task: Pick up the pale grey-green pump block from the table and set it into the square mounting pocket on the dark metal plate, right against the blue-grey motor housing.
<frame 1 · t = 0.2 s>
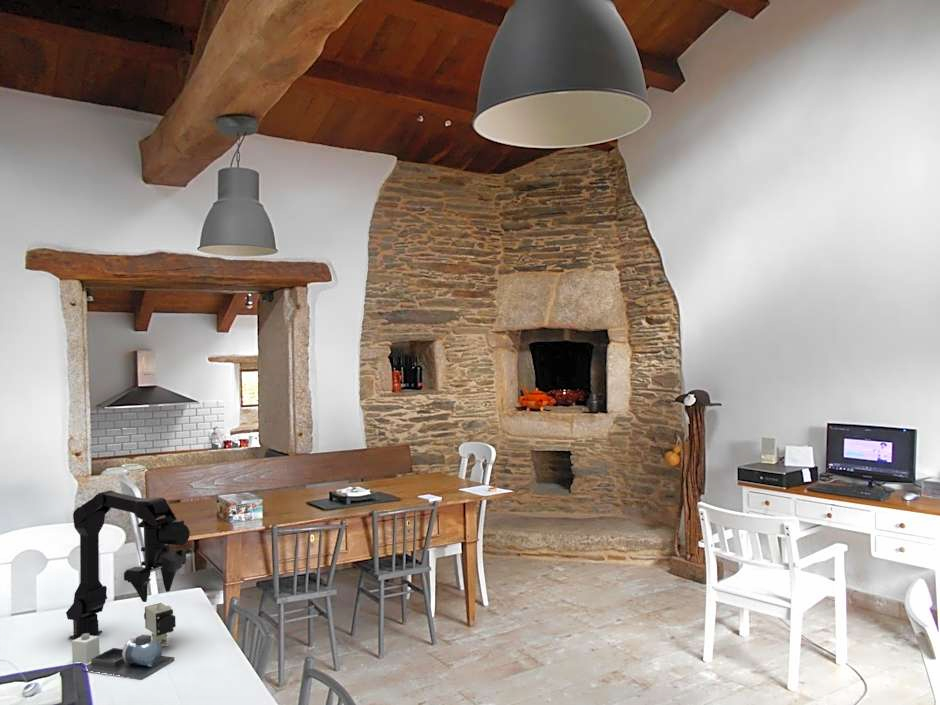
hand: (156, 596, 212), 14 cm above the table, tool pointing down, fingers open, 9 cm apart
pneumatic valve: (161, 646, 213), on the table
motor mount: (114, 663, 201), on the table
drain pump: (86, 660, 204), on the table
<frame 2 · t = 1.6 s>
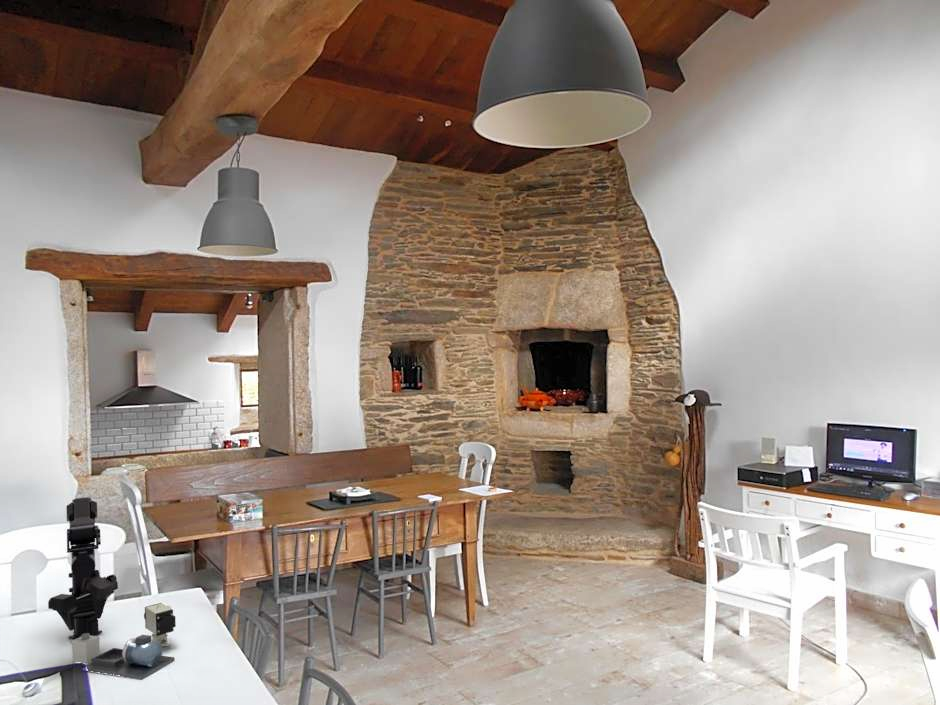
hand: (85, 624, 204), 10 cm above the table, tool pointing down, fingers open, 9 cm apart
nothing on the table moved.
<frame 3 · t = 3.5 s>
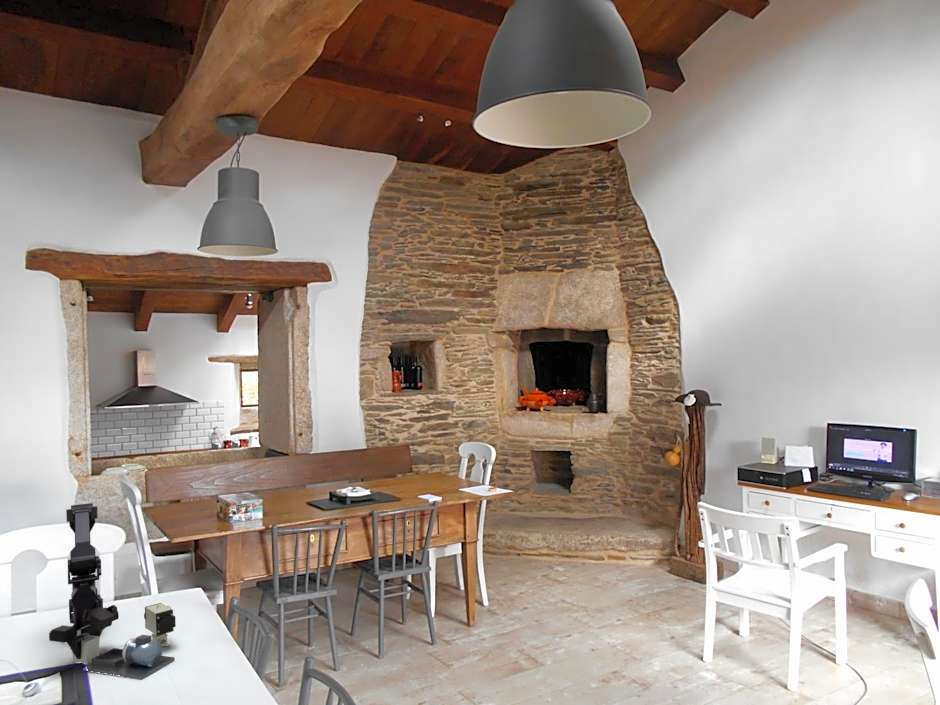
hand: (86, 655, 204), 1 cm above the table, tool pointing down, fingers closed on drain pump, 4 cm apart
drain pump: (86, 660, 204), on the table, touching gripper
everything else where it was.
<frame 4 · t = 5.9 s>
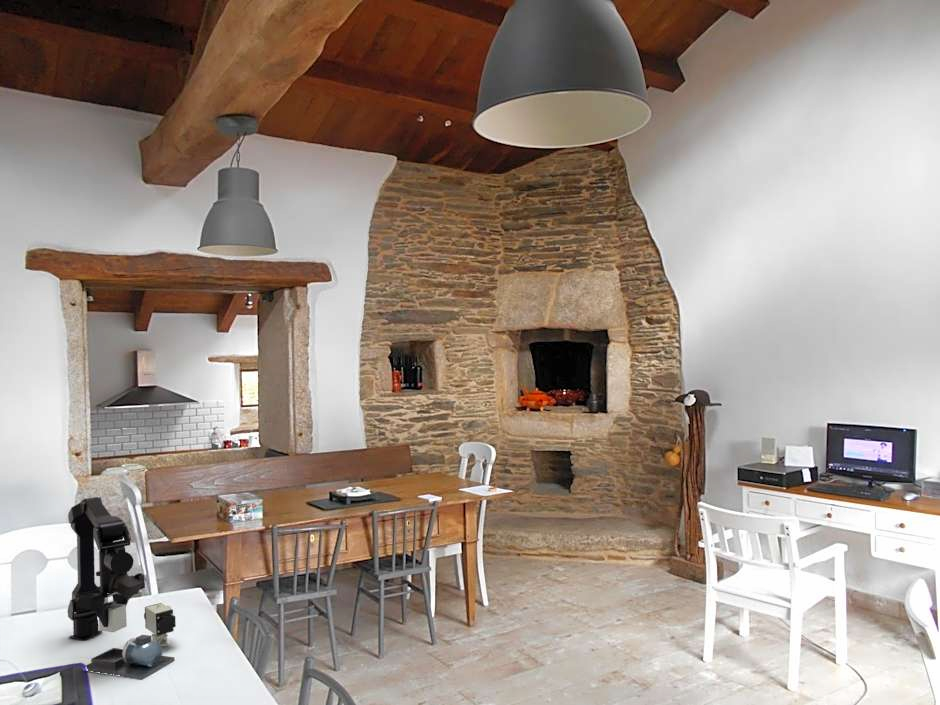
hand: (112, 623, 201), 11 cm above the table, tool pointing down, fingers closed on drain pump, 4 cm apart
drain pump: (113, 628, 201), point 10 cm above the table, touching gripper
everything else where it was.
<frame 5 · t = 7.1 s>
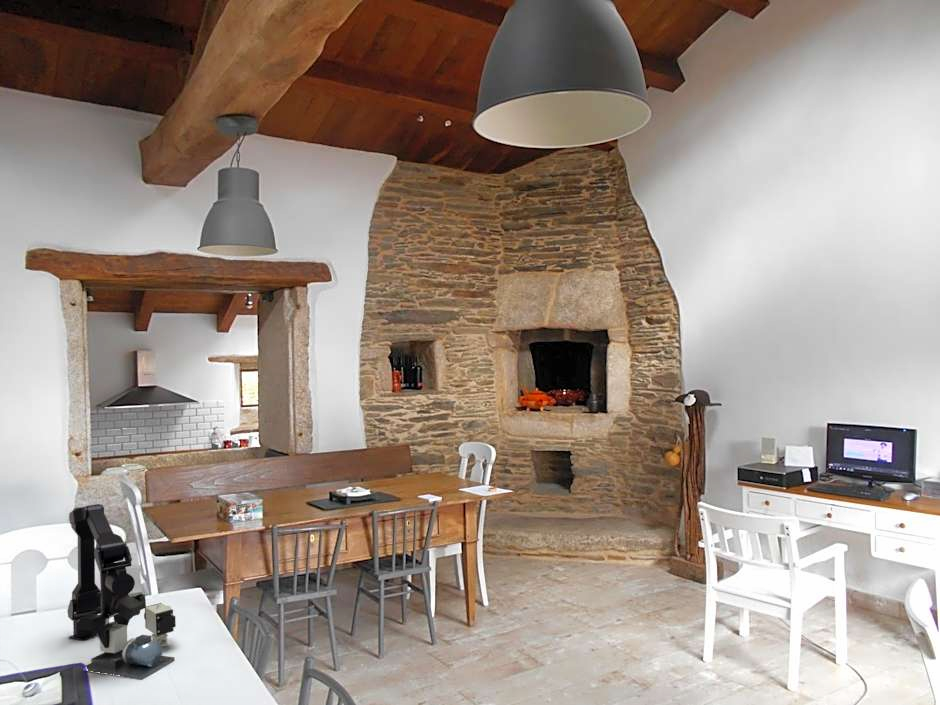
hand: (113, 644, 201), 5 cm above the table, tool pointing down, fingers closed on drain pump, 4 cm apart
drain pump: (113, 649, 201), point 4 cm above the table, touching gripper
everything else where it was.
when the fingers open (4 cm above the table, at t = 8.3 s): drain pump drops 1 cm, resting on motor mount.
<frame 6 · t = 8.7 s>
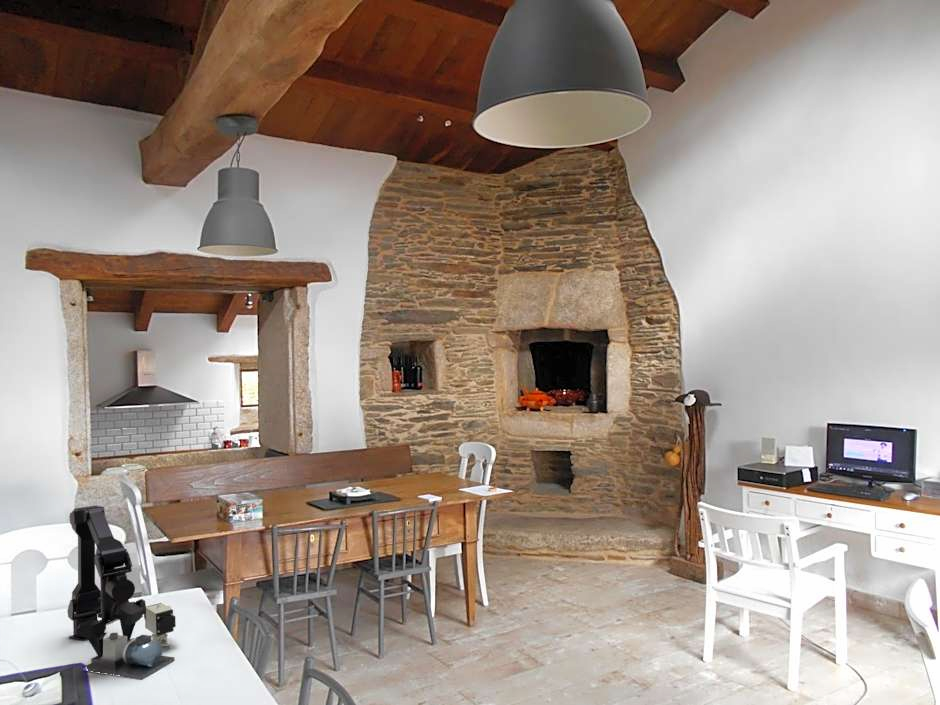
hand: (114, 650, 201), 4 cm above the table, tool pointing down, fingers open, 9 cm apart
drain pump: (114, 660, 201), point 1 cm above the table, touching motor mount
everything else where it was.
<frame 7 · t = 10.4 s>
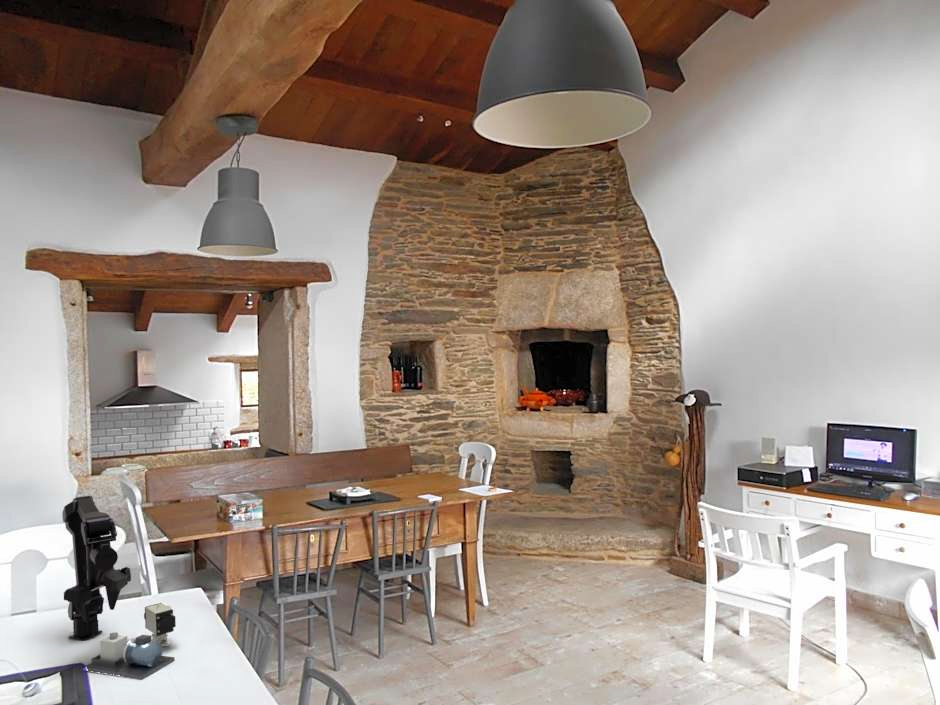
hand: (99, 615, 207), 11 cm above the table, tool pointing down, fingers open, 9 cm apart
nothing on the table moved.
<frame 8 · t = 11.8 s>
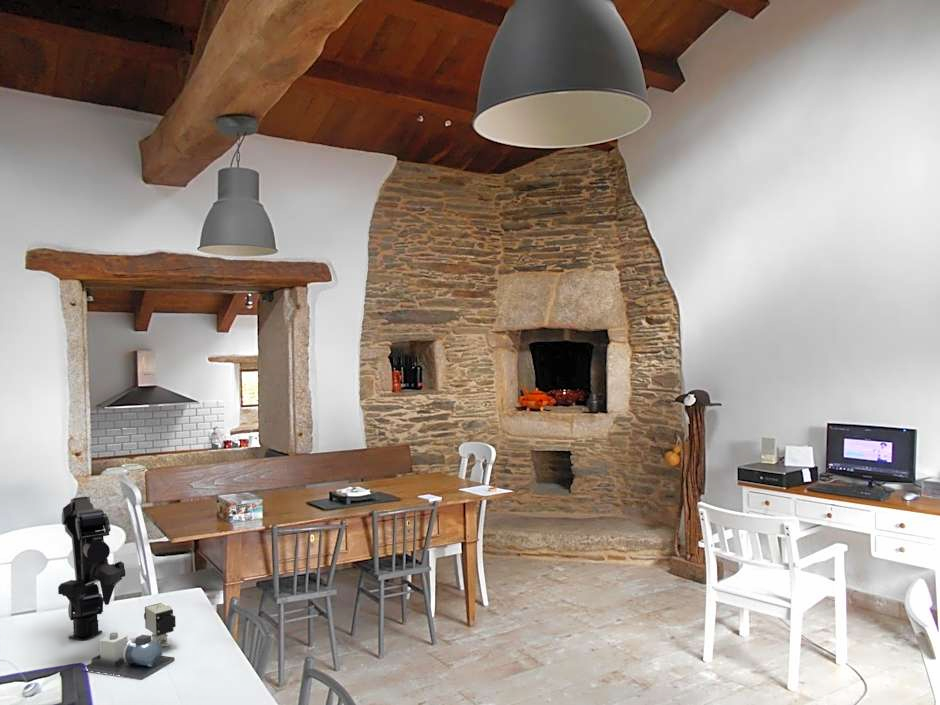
hand: (93, 610, 209), 12 cm above the table, tool pointing down, fingers open, 9 cm apart
nothing on the table moved.
at the end: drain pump 0.0 cm off-centre on the motor mount, point 1.0 cm above the motor mount's base; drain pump tilted 0°; the gripper is holding nothing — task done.
